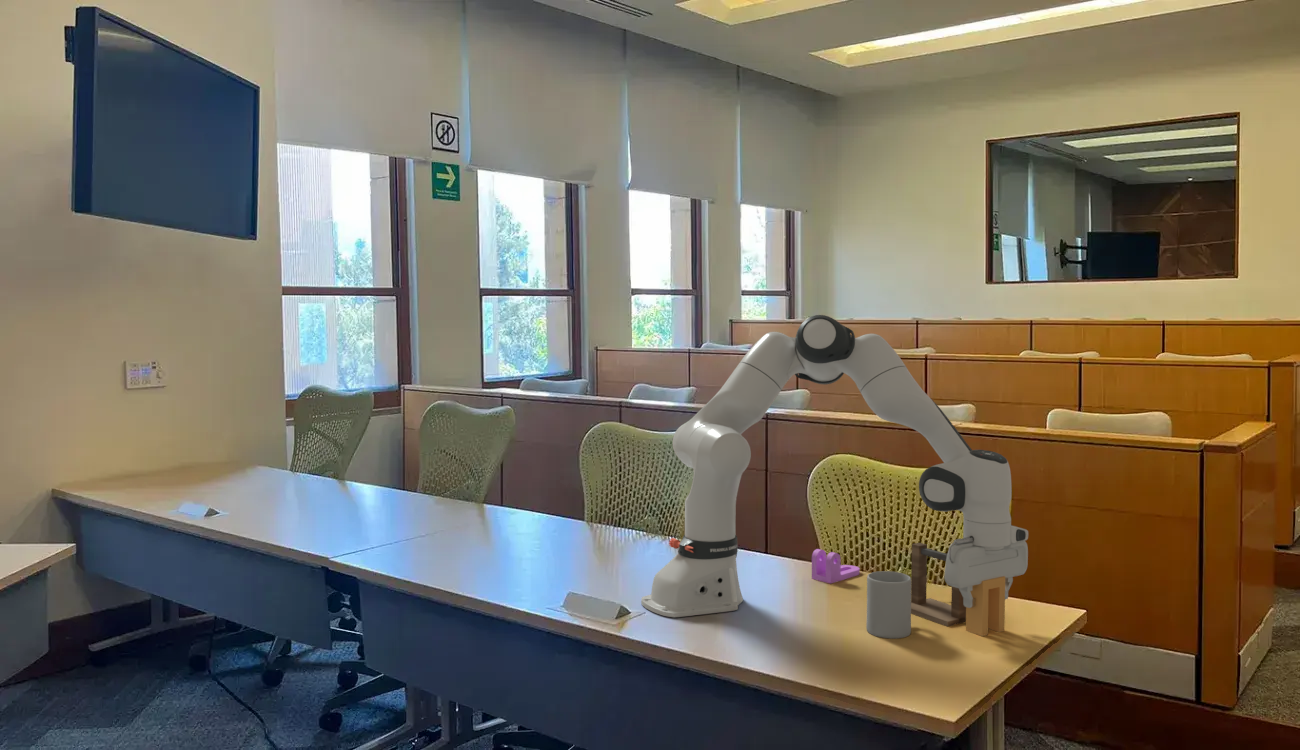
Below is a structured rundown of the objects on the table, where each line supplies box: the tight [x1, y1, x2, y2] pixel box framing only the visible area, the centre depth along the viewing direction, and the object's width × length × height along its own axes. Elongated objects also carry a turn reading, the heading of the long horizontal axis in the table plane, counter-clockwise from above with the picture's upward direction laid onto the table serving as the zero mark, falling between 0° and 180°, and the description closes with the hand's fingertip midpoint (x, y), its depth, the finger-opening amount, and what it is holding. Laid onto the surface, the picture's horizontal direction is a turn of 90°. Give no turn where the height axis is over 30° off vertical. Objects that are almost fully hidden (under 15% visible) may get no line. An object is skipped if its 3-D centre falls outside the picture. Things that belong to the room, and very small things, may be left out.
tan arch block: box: [965, 576, 1006, 637], centre depth 186 cm, size 6×4×11 cm, turn 120°
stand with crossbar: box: [910, 542, 966, 627], centre depth 196 cm, size 9×13×14 cm
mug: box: [865, 570, 912, 639], centre depth 187 cm, size 12×8×11 cm
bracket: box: [811, 548, 860, 585], centre depth 226 cm, size 13×6×7 cm, turn 131°
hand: (985, 602), depth 186 cm, fingers open, 8 cm apart
